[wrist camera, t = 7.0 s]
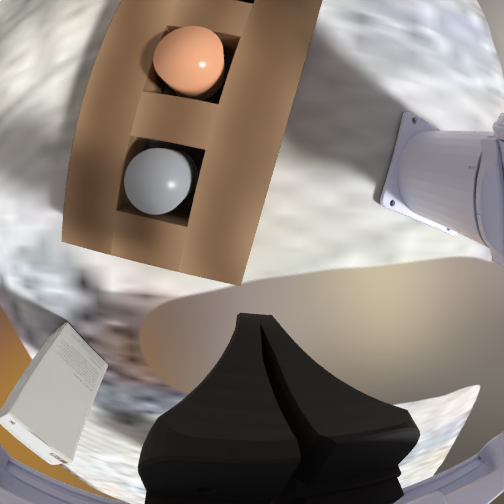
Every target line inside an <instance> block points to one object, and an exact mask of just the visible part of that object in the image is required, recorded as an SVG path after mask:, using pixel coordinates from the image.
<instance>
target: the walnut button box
mask: <svg viewBox="0 0 504 504" xmlns="http://www.w3.org/2000/svg"><path fill="white" fill-rule="evenodd" d="M321 4H322V0H255V1H254V3H253V4H251V3H247V2H242V1H237V0H122V1H121V3H120V5H119V7H118V9H117V11H116V13H115V15H114V17H113V19H112V21H111V23H110V26H109V28H108V30H107V33H106V35H105V37H104V40H103V42H102V45H101V47H100V50H99V53H98V55H97V58H96V61H95V64H94V66H93V69H92V72H91V75H90V78H89V82H88V85H87V88H86V91H85V95H84V98H83V102H82V106H81V110H80V114H79V118H78V122H77V126H76V131H75V135H74V140H73V145H72V151H71V156H70V162H69V168H68V175H67V183H66V191H65V200H64V211H63V226H62V242H65V243H69V244H72V245H76V246H80V247H83V248H87V249H91V250H94V251H98V252H102V253H105V254H109V255H113V256H117V257H121V258H124V259H128V260H132V261H136V262H140V263H144V264H148V265H152V266H156V267H160V268H164V269H168V270H173V271H177V272H181V273H185V274H189V275H194V276H198V277H202V278H207V279H211V280H216V281H220V282H225V283H229V284H234V285H238V286H241V282H242V279H243V275H244V272H245V268H246V265H247V261H248V258H249V254H250V251H251V247H252V244H253V240H254V237H255V233H256V230H257V226H258V223H259V219H260V216H261V212H262V209H263V205H264V202H265V198H266V195H267V191H268V188H269V184H270V181H271V177H272V174H273V170H274V167H275V163H276V160H277V156H278V153H279V149H280V146H281V142H282V139H283V135H284V132H285V128H286V125H287V121H288V118H289V114H290V111H291V107H292V104H293V100H294V97H295V94H296V90H297V87H298V83H299V80H300V76H301V73H302V69H303V66H304V62H305V59H306V55H307V52H308V48H309V45H310V42H311V38H312V35H313V31H314V28H315V24H316V21H317V17H318V14H319V10H320V7H321ZM186 26H199V27H204V28H207V29H209V30H211V31H212V32H214V33H215V34H216V35H217V36H218V37H219V39H220V40H221V43H222V45H223V53H224V55H226V56H231V57H234V58H233V60H232V63H231V66H230V69H229V73H228V76H227V79H226V82H225V85H224V88H223V91H222V95H221V98H220V101H219V104H214V103H209V102H205V101H200V100H194V99H189V98H183V97H178V96H171V95H165V94H162V93H163V89H164V86H165V83H166V82H165V81H164V80H163V79H162V78H161V77H160V76H159V75H158V73H157V72H156V70H155V67H154V63H153V57H154V52H155V49H156V47H157V45H158V44H159V42H160V41H161V40H162V39H163V38H164V37H165V36H166V35H167V34H169V33H170V32H172V31H174V30H176V29H179V28H182V27H186ZM150 139H155V140H160V141H166V142H171V143H176V144H181V145H186V146H191V147H195V148H200V149H204V150H206V151H205V154H204V158H203V162H202V166H201V170H200V174H199V178H198V182H197V186H196V191H195V195H194V199H193V204H192V208H191V212H190V211H186V210H182V209H177V208H174V209H173V210H171V211H169V212H167V213H164V214H159V215H152V214H147V213H144V212H142V211H140V210H139V209H137V208H136V207H135V206H134V205H133V204H132V203H131V202H130V200H129V198H128V197H127V194H126V191H125V186H124V178H125V173H126V170H127V167H128V165H129V164H130V162H131V161H132V159H133V158H134V157H135V156H137V155H138V154H139V153H141V152H143V151H145V150H147V148H148V144H149V140H150Z"/></svg>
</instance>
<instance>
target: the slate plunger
mask: <svg viewBox="0 0 504 504" xmlns="http://www.w3.org/2000/svg"><path fill="white" fill-rule="evenodd" d="M197 178H198V171H197V167H196V164H195V162H194V160H193V159H192V158H191V157H190V156H189V155H188V154H187V153H185V152H183V151H180V150H176V149H164V148H152V149H148V150H145V151H143V152H141V153H139V154H138V155H137V156H135V157H134V158H133V159H132V161H131V162H130V164H129V165H128V167H127V170H126V173H125V178H124V186H125V191H126V194H127V197H128V198H129V200H130V202H131V203H132V204H133V205H134V206H135V207H136V208H137V209H139V210H140V211H142V212H144V213H147V214H152V215H159V214H164V213H167V212H169V211H171V210H173V209H174V208H176V207H177V206H178V205H179V204H180V203H181V202H182V201H183V200H184V199H185V198H186V197H187V196H188V195H189V194H190V193H191V192H192V191H193V189H194V188H195V185H196V183H197Z"/></svg>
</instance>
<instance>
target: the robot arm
mask: <svg viewBox="0 0 504 504" xmlns="http://www.w3.org/2000/svg"><path fill="white" fill-rule="evenodd" d="M412 118H413V119H414V123H413V122H412ZM493 130H494V132H481V131H440V130H439V129H437V128H436V127H434V126H433V125H431V124H429V123H428V122H426V121H425V120H423V119H421V118H420V117H418V116H416V115H415V114H413V113H411V112H404V113H403V116H402V120H401V124H400V129H399V133H398V137H397V141H396V145H395V149H394V153H393V156H392V160H391V164H390V167H389V171H388V174H387V178H386V181H385V185H384V188H383V191H382V194H381V198H380V204H381V205H382V206H383V207H386V208H388V209H391V210H393V211H396V212H399V213H401V214H403V215H406V216H408V217H411V218H413V219H416V220H418V221H420V222H423V223H425V224H427V225H430V226H432V227H434V228H437V229H439V230H441V231H443V232H445V233H448V234H450V235H452V236H456V235H457V233H459V234H462V235H464V236H466V237H468V238H470V239H472V240H474V241H476V242H478V243H480V244H482V245H484V246H486V247H488V248H490V251H491V254H492V261H493V262H495V263H497V264H499V265H500V266H502V267H504V113H502V114H500V116H499V117H498V119H497V121H496V122H495V123H494V124H493ZM391 200H392V201H393V203H392V205H391V206H390V201H391ZM419 437H420V431H419V429H418V427H417V426H416V424H415V422H414V421H413V419H412V417H411V415H410V414H409V412H408V411H407V410H405V409H402V408H399V407H396V406H393V405H390V404H387V403H384V402H382V401H379V400H377V399H375V398H373V397H370V396H368V395H366V394H364V393H362V392H360V391H358V390H356V389H354V388H353V387H351V386H349V385H348V384H346V383H344V382H343V381H341V380H339V379H338V378H336V377H335V376H333V375H332V374H331V373H329V372H328V371H326V370H325V369H324V368H323V367H321V366H320V365H319V364H317V363H316V362H315V361H314V360H313V359H312V358H311V357H310V356H309V355H307V354H306V353H305V352H304V351H303V350H302V349H301V348H300V347H299V346H298V345H297V344H296V343H295V342H294V340H293V339H291V337H290V336H289V335H288V334H287V333H286V331H285V330H284V329H283V328H282V327H281V326H280V324H279V323H278V322H277V321H276V319H275V318H274V317H273V316H272V315H261V314H247V313H240V314H238V315H237V320H236V328H235V331H234V333H233V336H232V338H231V340H230V342H229V344H228V346H227V348H226V350H225V351H224V353H223V355H222V356H221V358H220V359H219V361H218V362H217V364H216V365H215V366H214V368H213V369H212V370H211V372H210V373H209V374H208V375H207V376H206V378H205V379H204V380H203V381H202V382H201V383H200V384H199V385H198V386H197V387H196V388H195V389H194V390H193V391H192V392H191V393H190V394H189V395H187V396H186V397H185V398H184V399H183V400H182V401H181V402H179V403H178V404H177V405H175V406H174V407H173V408H171V409H170V410H168V411H167V412H165V413H164V414H162V415H161V416H160V417H158V418H157V420H156V421H155V423H154V425H153V426H152V428H151V430H150V432H149V434H148V435H147V437H146V440H145V442H144V445H143V447H142V450H141V454H140V459H139V464H138V473H139V475H140V478H141V480H142V482H143V484H144V486H145V488H146V491H147V492H146V498H145V504H489V503H490V502H491V501H493V500H494V499H495V498H496V497H497V496H499V495H500V494H501V493H502V492H503V491H504V432H502V433H501V434H499V435H498V436H496V437H494V438H493V439H492V440H490V441H489V442H488V443H487V444H486V445H485V446H484V447H483V448H482V449H481V450H480V451H479V453H478V454H476V455H475V456H473V457H471V458H469V459H467V460H465V461H463V462H462V463H460V464H458V465H456V466H454V467H452V468H450V469H448V470H446V471H444V472H441V473H439V474H437V475H435V476H433V477H430V478H428V479H426V480H423V481H421V482H418V483H416V484H413V485H411V486H408V487H405V488H403V489H402V488H401V486H400V483H399V481H398V479H397V477H399V476H400V475H401V471H400V469H399V467H398V464H399V463H400V462H401V461H402V460H403V459H404V458H405V457H406V456H407V455H408V454H409V453H410V452H411V450H412V449H413V448H414V447H415V445H416V444H417V442H418V439H419ZM0 504H129V503H125V502H121V501H117V500H113V499H109V498H106V497H103V496H99V495H96V494H93V493H90V492H87V491H84V490H82V489H79V488H76V487H73V486H71V485H68V484H65V483H63V482H61V481H58V480H56V479H54V478H51V477H49V476H47V475H45V474H43V473H40V472H38V471H36V470H34V469H32V468H30V467H28V466H26V465H25V464H22V463H21V462H19V461H17V460H15V459H13V458H11V457H10V456H9V454H8V453H7V451H6V450H5V449H4V448H3V447H2V446H1V445H0Z"/></svg>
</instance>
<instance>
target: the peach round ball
mask: <svg viewBox="0 0 504 504" xmlns="http://www.w3.org/2000/svg"><path fill="white" fill-rule="evenodd" d="M153 63H154V67H155V70H156V72H157V73H158V75H159V76H160V77H161V78H162V79H163V80H164V81H165V82H166V83H167V84H168V85H169V86H170V88H171V89H172V90H173V91H174V92H175V93H176V94H177V95H178V96H180V97H183V98H189V99H194V100H204V99H207V98H209V97H211V96H212V95H214V94H215V93H216V92H217V91H218V90H219V89H220V88H221V86H222V84H223V82H224V79H225V67H224V53H223V45H222V43H221V40H220V39H219V37H218V36H217V35H216V34H215V33H214V32H212V31H211V30H209V29H207V28H204V27H199V26H186V27H182V28H179V29H176V30H174V31H172V32H170V33H169V34H167V35H166V36H165V37H164V38H163V39H162V40H161V41H160V42H159V44H158V45H157V47H156V49H155V52H154V57H153Z"/></svg>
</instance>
